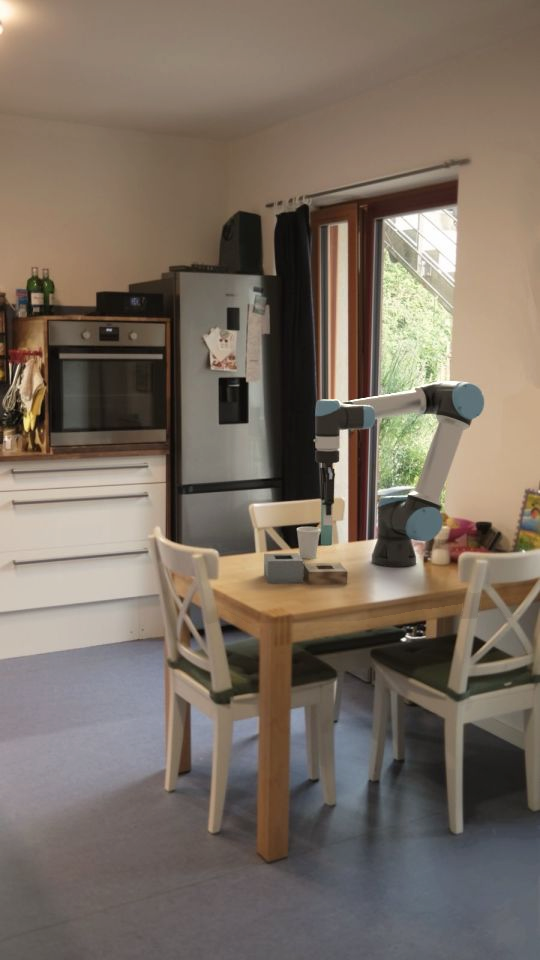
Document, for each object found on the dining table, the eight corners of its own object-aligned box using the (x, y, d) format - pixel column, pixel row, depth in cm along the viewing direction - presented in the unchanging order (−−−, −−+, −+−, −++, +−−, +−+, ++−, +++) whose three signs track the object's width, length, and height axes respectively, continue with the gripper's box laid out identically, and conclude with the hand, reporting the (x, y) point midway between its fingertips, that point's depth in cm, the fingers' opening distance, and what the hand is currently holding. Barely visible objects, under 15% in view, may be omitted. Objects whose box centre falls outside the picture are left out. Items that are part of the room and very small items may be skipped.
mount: (339, 574, 315) (340, 562, 315) (347, 583, 304) (347, 571, 303) (303, 575, 314) (303, 563, 313) (309, 584, 302) (309, 571, 302)
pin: (330, 543, 309) (331, 499, 307) (332, 545, 306) (333, 501, 304) (320, 543, 309) (320, 499, 307) (321, 545, 305) (322, 501, 303)
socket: (297, 574, 315) (298, 553, 314) (303, 582, 304) (303, 560, 303) (263, 575, 314) (264, 553, 313) (267, 583, 303) (268, 561, 302)
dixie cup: (316, 560, 337) (316, 531, 335) (293, 558, 339) (293, 530, 338) (322, 555, 345) (323, 527, 343) (299, 553, 347) (300, 525, 346)
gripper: (311, 446, 311) (310, 519, 314) (319, 452, 295) (319, 529, 298) (334, 446, 312) (333, 518, 315) (344, 452, 295) (343, 528, 299)
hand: (326, 523), depth 306 cm, fingers closed on pin, 3 cm apart
